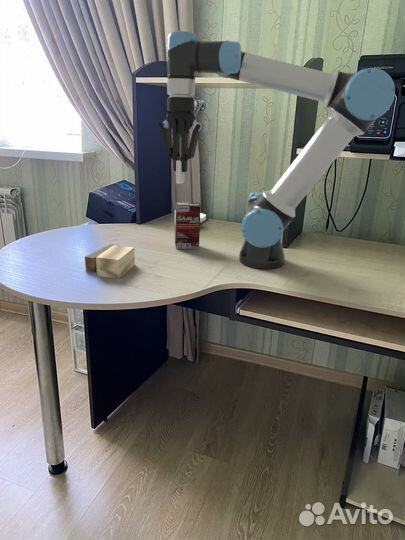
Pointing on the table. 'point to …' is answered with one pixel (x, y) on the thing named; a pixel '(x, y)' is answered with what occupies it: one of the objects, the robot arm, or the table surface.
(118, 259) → the oak block
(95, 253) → the walnut rail
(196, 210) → the supplement box
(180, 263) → the table surface
